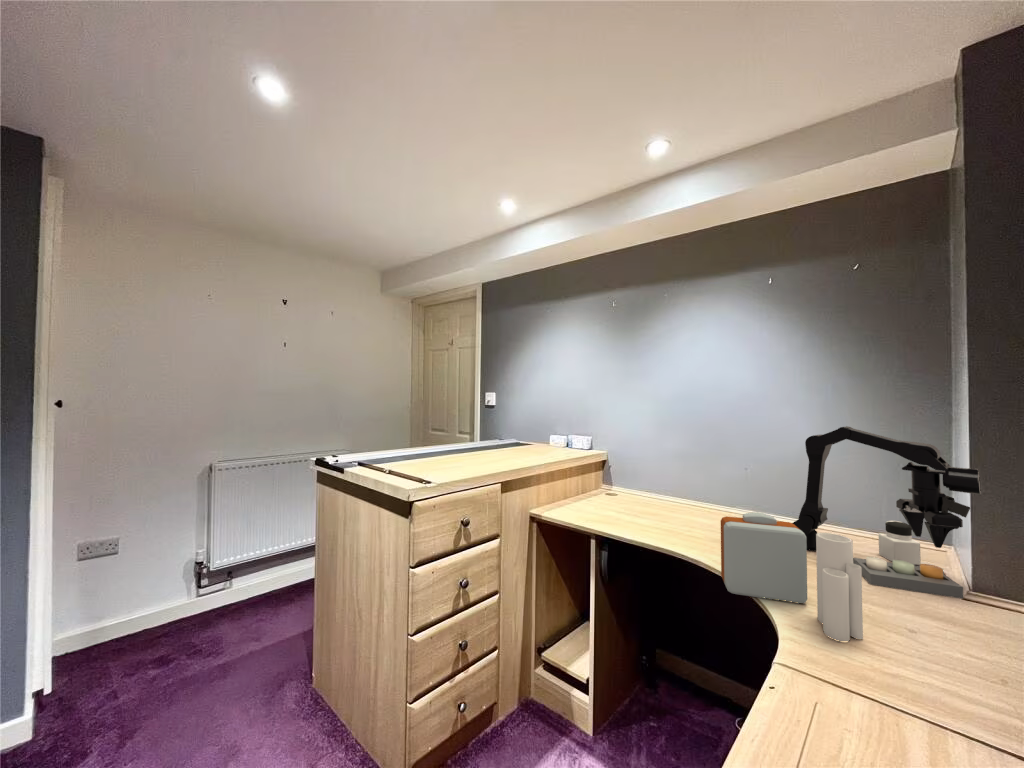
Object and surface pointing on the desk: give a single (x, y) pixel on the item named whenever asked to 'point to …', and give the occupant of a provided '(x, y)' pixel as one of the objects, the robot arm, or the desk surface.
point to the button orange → (931, 571)
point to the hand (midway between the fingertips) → (927, 541)
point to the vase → (838, 587)
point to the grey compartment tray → (910, 581)
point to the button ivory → (876, 564)
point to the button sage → (903, 567)
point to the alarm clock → (764, 557)
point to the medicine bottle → (899, 543)
